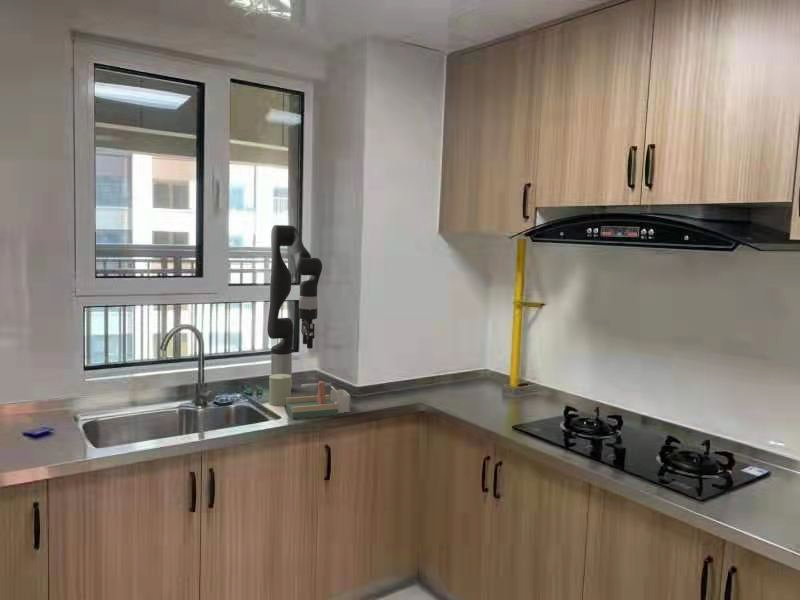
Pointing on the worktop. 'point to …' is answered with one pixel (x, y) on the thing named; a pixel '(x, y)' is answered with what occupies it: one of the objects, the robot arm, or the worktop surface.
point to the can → (279, 389)
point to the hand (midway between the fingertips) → (307, 346)
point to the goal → (341, 400)
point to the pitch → (310, 407)
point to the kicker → (319, 390)
